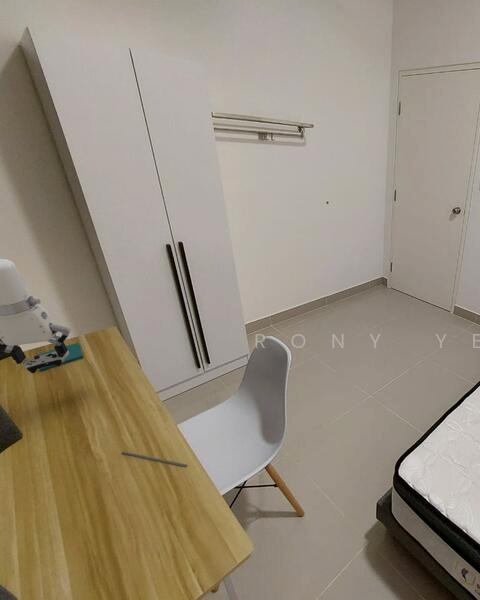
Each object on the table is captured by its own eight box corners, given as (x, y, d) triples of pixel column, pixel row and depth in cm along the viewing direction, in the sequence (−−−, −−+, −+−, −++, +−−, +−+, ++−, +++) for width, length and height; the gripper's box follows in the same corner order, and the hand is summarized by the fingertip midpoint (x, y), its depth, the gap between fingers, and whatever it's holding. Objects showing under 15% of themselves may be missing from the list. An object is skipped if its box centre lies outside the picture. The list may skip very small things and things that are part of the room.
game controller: (69, 349, 100) (62, 345, 96) (74, 366, 100) (67, 362, 95) (24, 361, 95) (14, 357, 90) (28, 378, 94) (19, 375, 89)
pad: (40, 371, 111) (39, 369, 110) (38, 356, 117) (37, 354, 117) (83, 357, 118) (82, 355, 118) (79, 344, 125) (78, 342, 124)
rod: (186, 468, 84) (185, 466, 83) (121, 454, 86) (120, 452, 86) (188, 466, 84) (188, 464, 84) (124, 452, 87) (123, 450, 86)
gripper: (62, 295, 92) (86, 345, 101) (-24, 303, 86) (9, 356, 94) (50, 307, 86) (76, 359, 95) (-43, 317, 80) (-7, 372, 88)
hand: (43, 357), depth 94 cm, fingers closed on game controller, 8 cm apart
